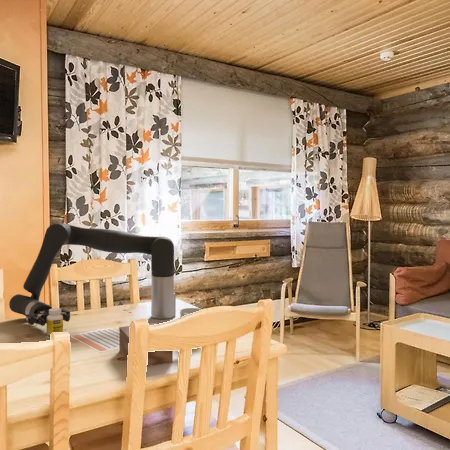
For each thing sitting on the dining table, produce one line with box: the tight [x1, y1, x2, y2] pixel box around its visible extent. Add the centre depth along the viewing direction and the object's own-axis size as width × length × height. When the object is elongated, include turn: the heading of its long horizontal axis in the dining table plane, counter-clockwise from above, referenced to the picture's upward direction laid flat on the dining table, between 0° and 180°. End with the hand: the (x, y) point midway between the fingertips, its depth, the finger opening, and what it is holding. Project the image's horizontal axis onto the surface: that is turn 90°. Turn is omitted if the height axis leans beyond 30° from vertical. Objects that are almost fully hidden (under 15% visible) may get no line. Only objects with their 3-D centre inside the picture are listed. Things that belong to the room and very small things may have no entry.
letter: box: [70, 327, 120, 353], centre depth 155 cm, size 16×24×1 cm, turn 43°
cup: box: [179, 307, 202, 318], centre depth 156 cm, size 8×8×10 cm
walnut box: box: [118, 322, 174, 367], centre depth 138 cm, size 12×16×8 cm
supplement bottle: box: [46, 307, 64, 339], centre depth 157 cm, size 5×5×10 cm
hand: (56, 320), depth 156 cm, fingers open, 8 cm apart
